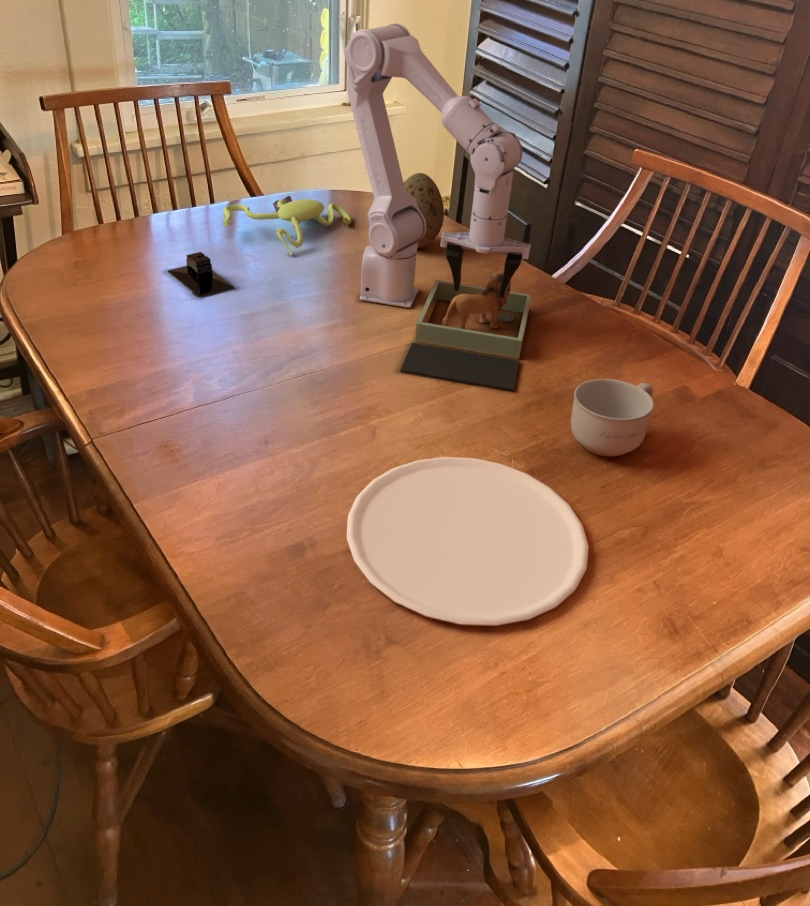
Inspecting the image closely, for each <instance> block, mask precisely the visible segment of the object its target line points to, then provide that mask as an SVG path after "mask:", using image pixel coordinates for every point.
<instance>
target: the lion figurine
mask: <svg viewBox="0 0 810 906" xmlns="http://www.w3.org/2000/svg"><path fill="white" fill-rule="evenodd" d="M503 275H504V271H500V270H499V271H498V270H497V271H496V272H495V273H492V274H490V276H489V280H488V283H487V284H486V287H485V288H486V289H485V290H484V291H483V292H481V293H478V294H472V295H470V294H459V295H457V296H455V297H454V298H453V300H452V302H450V303H449V306H448V307H447V311H446V314H445V316H444V317H443V318H442V322H441V325H442V326H448V325H449V324H448V323H449V321H450V320H451V319H453V318H454V316H456V315H457V316H458V319H459V324H458V328H460V329H466V324H467V322H468V319H469V317H470V314H471V315H477V316H478V315H480V316H479V322H480V323H482V324H484V323H487V318H486V315H487V313H488V312H489V313H490V321H489V325H490V327H491V328H492V329H497V328H498V327H499V326H498V324H497V323H496V322H497V319H498V315H499V310H500V308H501V307H503V306H504V305H505V304H506V303H507V300H508V297H509V294H510V292H511V289H512V281H511V280H510V281H509V283H508V285H507V288H506V290H505V294H504V298H500V297H499V296H500V290H501V286H502V282H503Z"/></svg>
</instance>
